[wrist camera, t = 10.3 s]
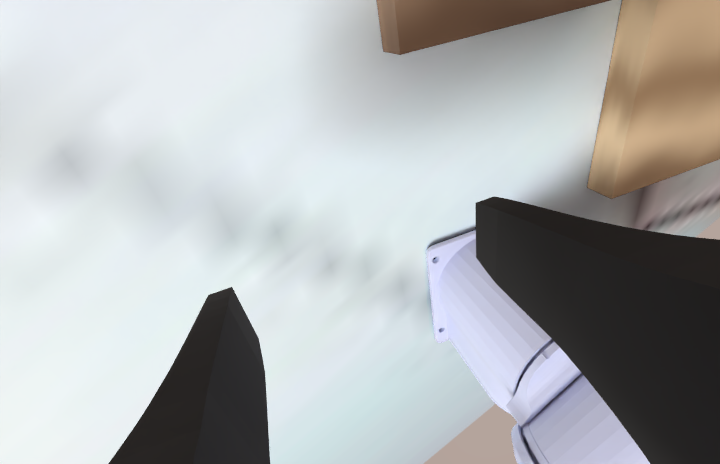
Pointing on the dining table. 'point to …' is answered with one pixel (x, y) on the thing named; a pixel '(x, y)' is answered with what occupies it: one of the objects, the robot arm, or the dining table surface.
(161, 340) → the dining table surface
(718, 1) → the oak stand
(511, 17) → the walnut stand
